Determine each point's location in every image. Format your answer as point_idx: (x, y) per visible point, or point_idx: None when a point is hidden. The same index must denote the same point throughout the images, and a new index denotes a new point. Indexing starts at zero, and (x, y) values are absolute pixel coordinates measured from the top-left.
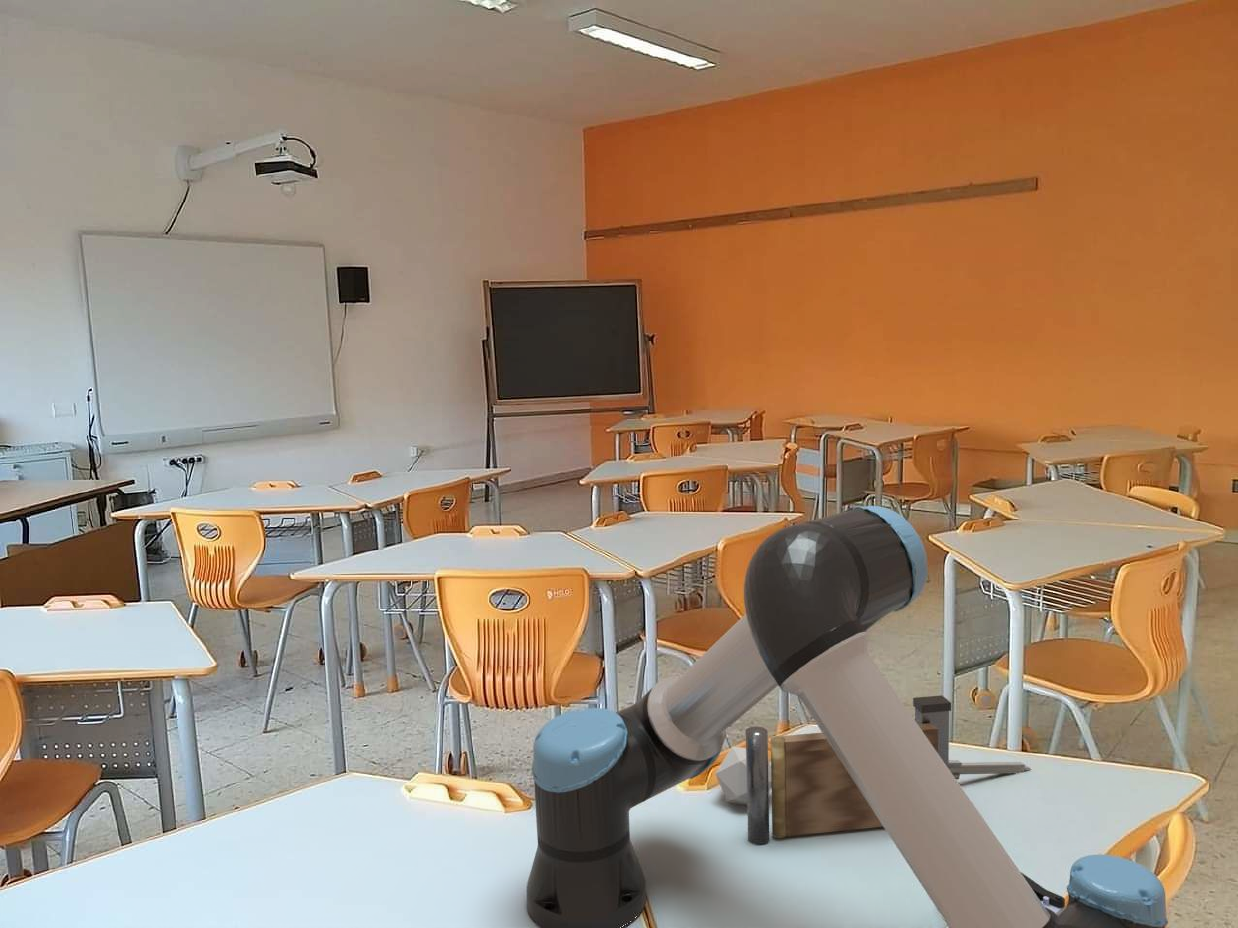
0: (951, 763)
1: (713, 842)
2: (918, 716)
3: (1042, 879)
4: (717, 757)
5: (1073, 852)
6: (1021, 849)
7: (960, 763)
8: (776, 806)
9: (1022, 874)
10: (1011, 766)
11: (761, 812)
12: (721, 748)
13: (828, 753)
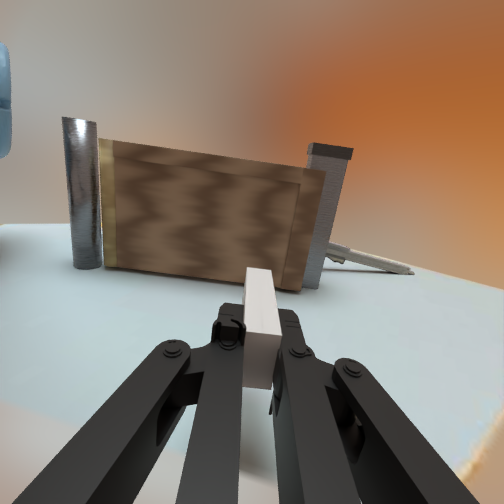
0: (339, 246)
1: (36, 256)
2: (308, 164)
3: (429, 404)
4: (1, 132)
5: (475, 366)
6: (397, 344)
7: (348, 249)
8: (103, 228)
9: (455, 484)
10: (397, 266)
11: (78, 229)
12: (2, 116)
13: (173, 172)
